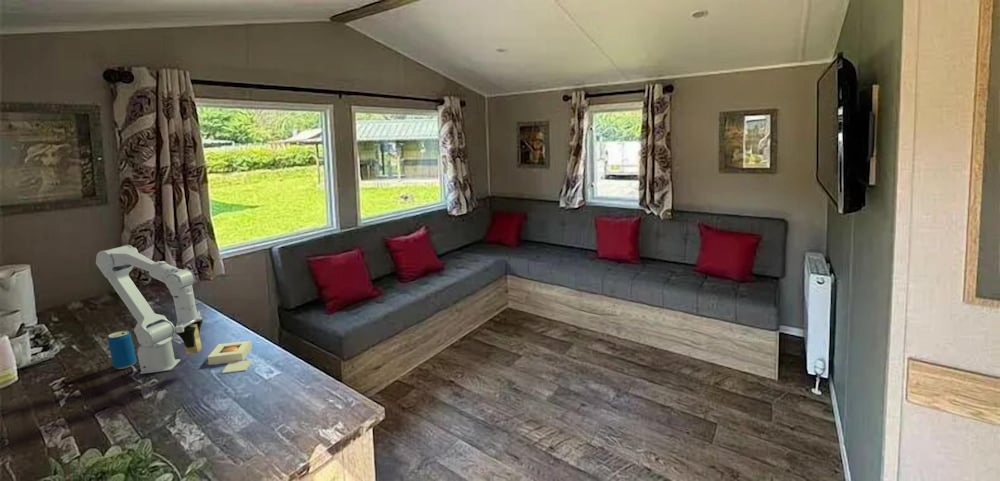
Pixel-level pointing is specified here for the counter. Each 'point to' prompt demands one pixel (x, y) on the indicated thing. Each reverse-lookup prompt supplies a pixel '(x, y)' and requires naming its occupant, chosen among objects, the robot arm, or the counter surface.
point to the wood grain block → (197, 342)
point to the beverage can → (122, 349)
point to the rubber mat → (237, 366)
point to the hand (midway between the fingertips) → (192, 344)
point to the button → (230, 349)
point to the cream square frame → (229, 353)
